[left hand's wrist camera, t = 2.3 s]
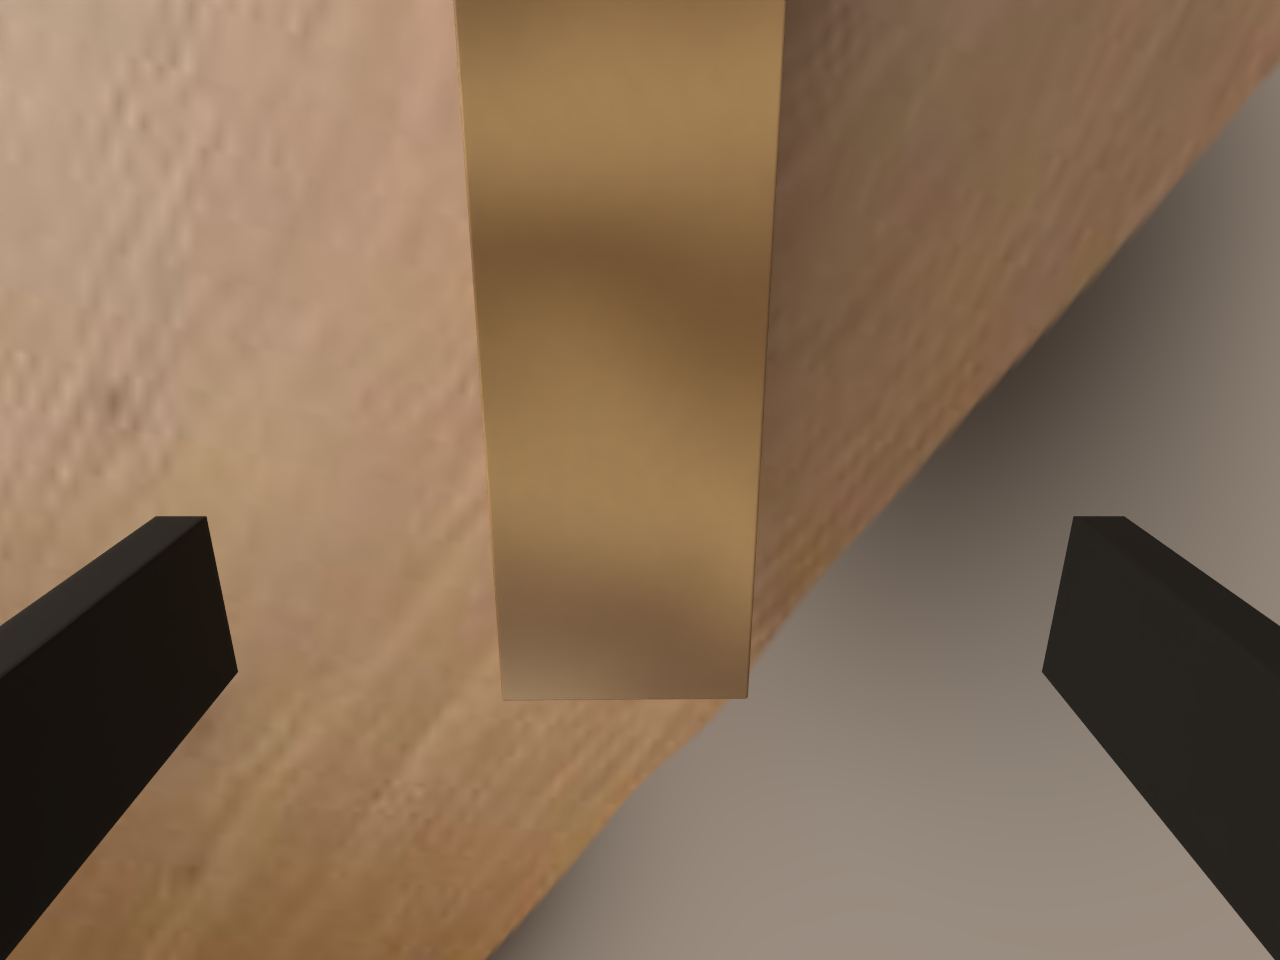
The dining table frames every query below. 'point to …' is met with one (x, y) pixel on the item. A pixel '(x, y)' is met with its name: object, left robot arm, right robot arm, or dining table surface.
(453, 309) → the dining table surface
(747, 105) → the bar
